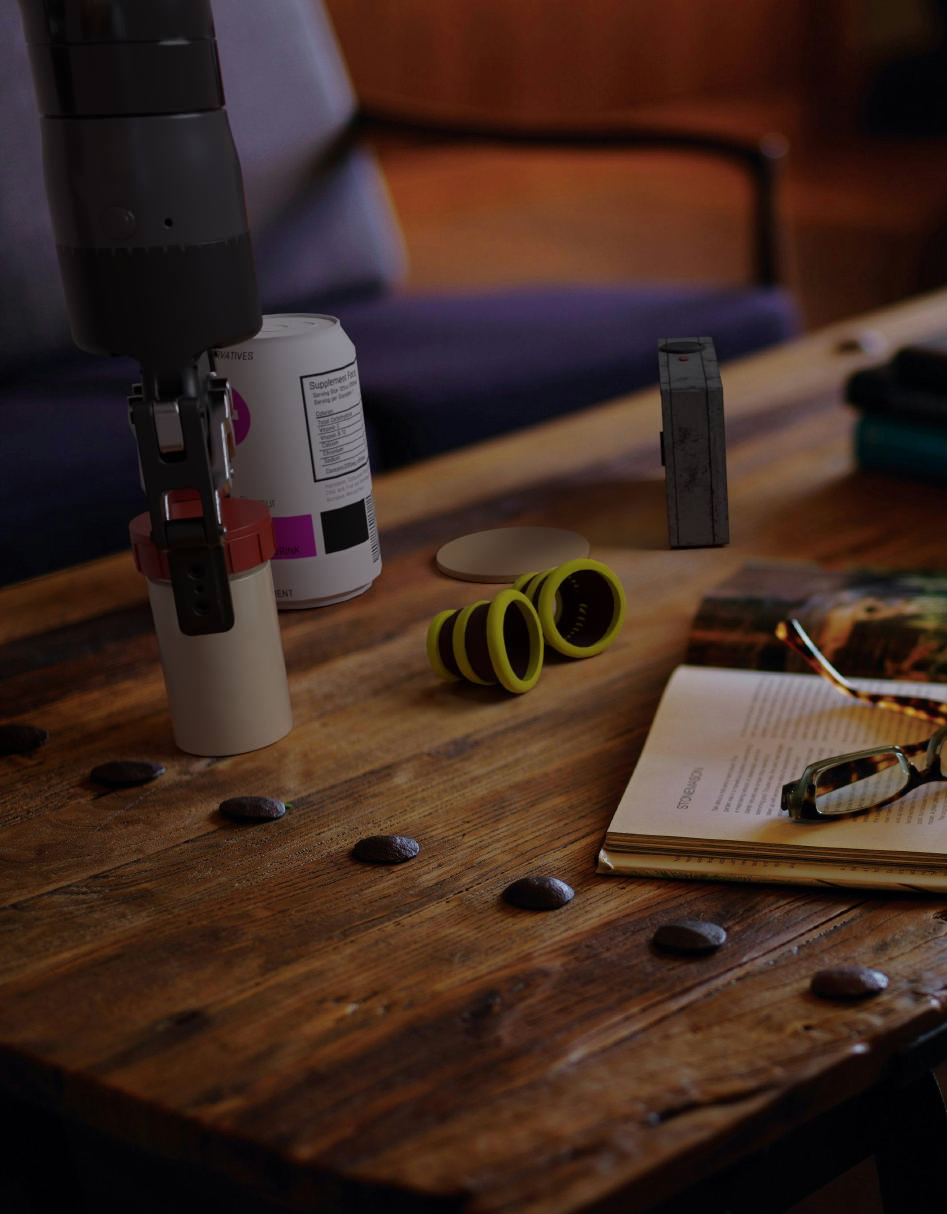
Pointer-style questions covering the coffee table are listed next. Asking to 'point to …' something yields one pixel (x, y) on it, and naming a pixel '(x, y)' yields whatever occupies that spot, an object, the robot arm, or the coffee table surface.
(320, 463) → the supplement can
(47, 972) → the coffee table surface
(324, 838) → the coffee table surface
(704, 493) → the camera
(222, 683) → the jar
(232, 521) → the jar lid
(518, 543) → the coaster
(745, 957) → the coffee table surface
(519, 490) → the coffee table surface
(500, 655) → the opera glasses
